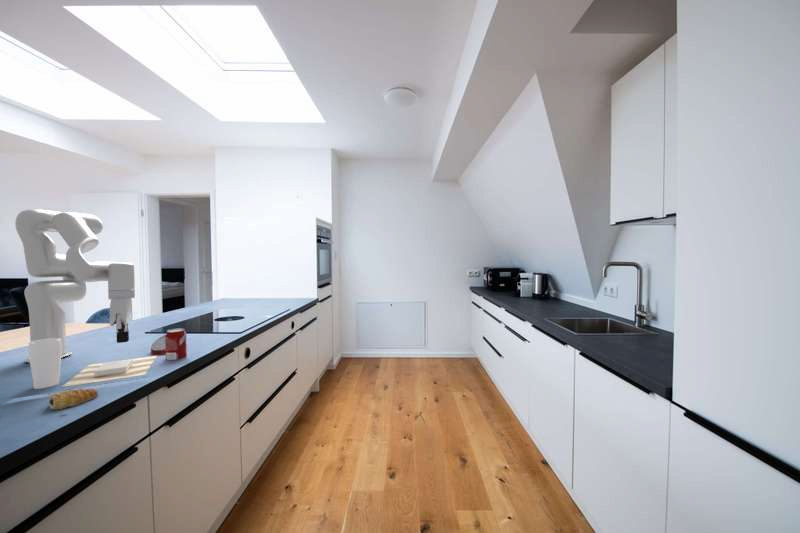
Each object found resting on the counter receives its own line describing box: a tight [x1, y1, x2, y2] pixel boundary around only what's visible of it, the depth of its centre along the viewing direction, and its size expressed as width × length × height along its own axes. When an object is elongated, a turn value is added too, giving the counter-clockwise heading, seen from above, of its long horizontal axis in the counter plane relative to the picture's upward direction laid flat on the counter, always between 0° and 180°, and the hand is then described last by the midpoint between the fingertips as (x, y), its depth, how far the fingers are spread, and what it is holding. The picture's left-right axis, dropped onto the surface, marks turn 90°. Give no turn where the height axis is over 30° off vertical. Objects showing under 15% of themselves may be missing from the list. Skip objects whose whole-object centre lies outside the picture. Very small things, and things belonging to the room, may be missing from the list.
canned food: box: [150, 334, 166, 356], centre depth 131 cm, size 11×10×10 cm
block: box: [95, 358, 134, 377], centre depth 108 cm, size 2×8×10 cm
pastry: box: [48, 388, 99, 411], centre depth 86 cm, size 9×7×4 cm
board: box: [61, 355, 158, 392], centre depth 109 cm, size 24×20×1 cm
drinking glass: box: [28, 338, 62, 390], centre depth 95 cm, size 7×7×15 cm
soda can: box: [164, 327, 188, 361], centre depth 122 cm, size 7×7×12 cm
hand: (122, 341), depth 118 cm, fingers closed
